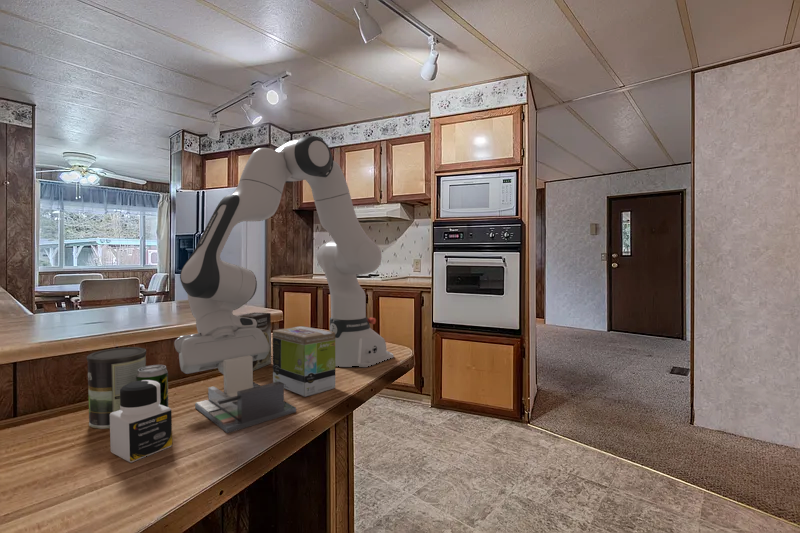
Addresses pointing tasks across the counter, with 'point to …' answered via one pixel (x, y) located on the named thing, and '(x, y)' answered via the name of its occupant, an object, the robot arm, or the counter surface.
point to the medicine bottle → (140, 422)
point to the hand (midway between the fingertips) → (235, 379)
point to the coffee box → (264, 326)
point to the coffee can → (110, 380)
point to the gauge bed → (246, 406)
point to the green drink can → (156, 379)
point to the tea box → (304, 359)
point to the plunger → (237, 376)
